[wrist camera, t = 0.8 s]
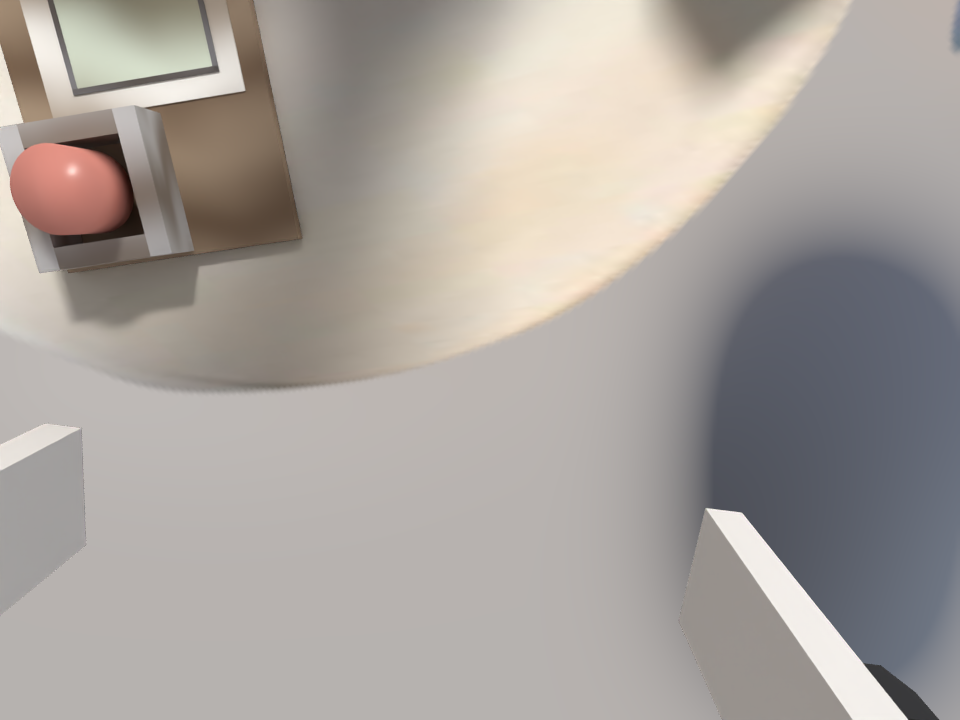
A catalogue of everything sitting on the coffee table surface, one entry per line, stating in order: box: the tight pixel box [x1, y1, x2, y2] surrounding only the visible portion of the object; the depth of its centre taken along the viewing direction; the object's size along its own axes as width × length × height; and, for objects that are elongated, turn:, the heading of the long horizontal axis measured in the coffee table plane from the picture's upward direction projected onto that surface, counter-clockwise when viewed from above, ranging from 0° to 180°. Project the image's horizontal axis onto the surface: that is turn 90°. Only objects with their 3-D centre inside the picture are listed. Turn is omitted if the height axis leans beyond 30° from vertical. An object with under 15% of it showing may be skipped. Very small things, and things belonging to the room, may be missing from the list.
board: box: [0, 0, 302, 273], centre depth 32 cm, size 20×14×3 cm
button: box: [10, 143, 134, 235], centre depth 31 cm, size 4×4×3 cm
